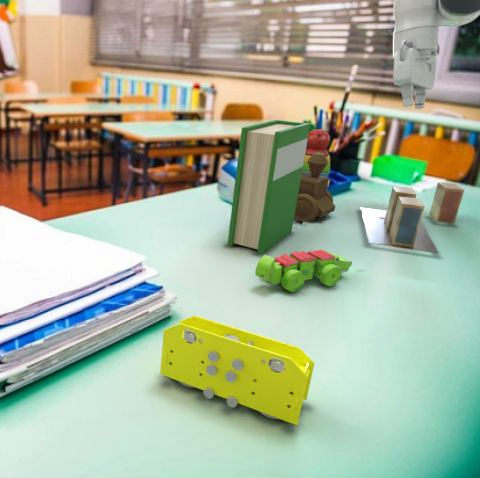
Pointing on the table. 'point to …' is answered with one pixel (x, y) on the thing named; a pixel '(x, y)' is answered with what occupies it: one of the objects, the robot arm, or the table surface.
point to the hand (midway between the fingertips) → (413, 107)
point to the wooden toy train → (314, 191)
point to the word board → (381, 234)
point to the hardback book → (267, 183)
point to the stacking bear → (317, 149)
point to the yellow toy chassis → (238, 367)
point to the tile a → (393, 200)
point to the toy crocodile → (302, 268)
